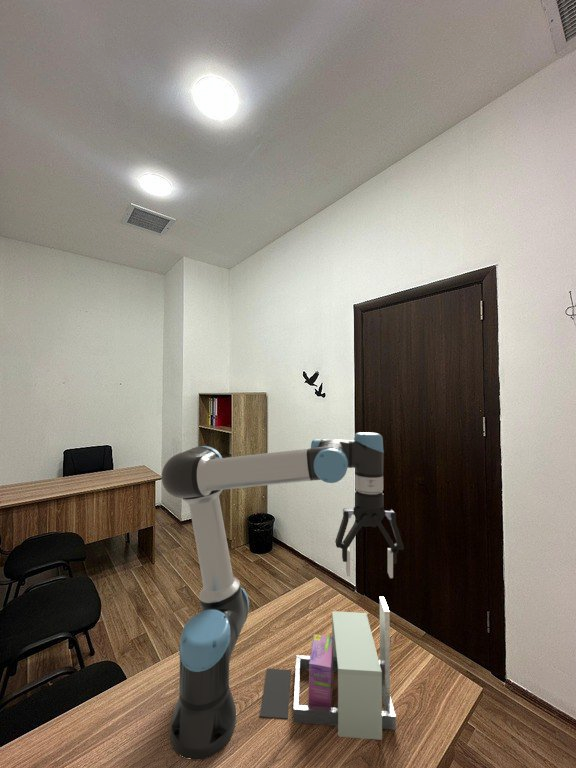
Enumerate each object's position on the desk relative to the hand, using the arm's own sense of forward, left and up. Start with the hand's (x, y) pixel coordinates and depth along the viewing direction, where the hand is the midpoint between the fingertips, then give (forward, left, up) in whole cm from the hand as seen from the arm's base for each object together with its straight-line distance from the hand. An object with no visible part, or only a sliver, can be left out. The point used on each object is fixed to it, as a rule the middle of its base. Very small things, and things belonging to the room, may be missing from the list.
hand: (369, 574), depth 86 cm
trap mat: (-25, 0, -32) cm, 40 cm away
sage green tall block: (-4, 0, -32) cm, 32 cm away
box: (-13, 0, -32) cm, 34 cm away
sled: (-8, 0, -32) cm, 33 cm away
